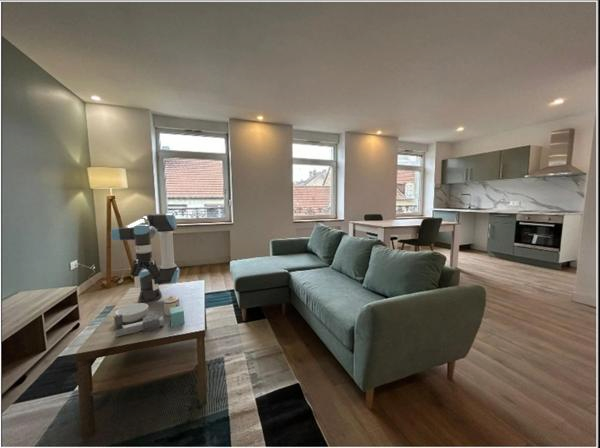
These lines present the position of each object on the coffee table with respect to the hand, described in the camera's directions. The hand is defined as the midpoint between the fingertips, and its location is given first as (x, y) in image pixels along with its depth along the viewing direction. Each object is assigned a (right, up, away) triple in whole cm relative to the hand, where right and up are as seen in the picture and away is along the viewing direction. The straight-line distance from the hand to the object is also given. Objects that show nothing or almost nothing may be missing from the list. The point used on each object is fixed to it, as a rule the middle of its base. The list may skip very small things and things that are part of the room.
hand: (146, 288), depth 138 cm
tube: (-3, -23, 0) cm, 24 cm away
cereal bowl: (-17, -24, +13) cm, 32 cm away
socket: (+13, -23, +9) cm, 28 cm away
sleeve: (+1, -24, +2) cm, 24 cm away
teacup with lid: (+3, -22, +23) cm, 32 cm away
